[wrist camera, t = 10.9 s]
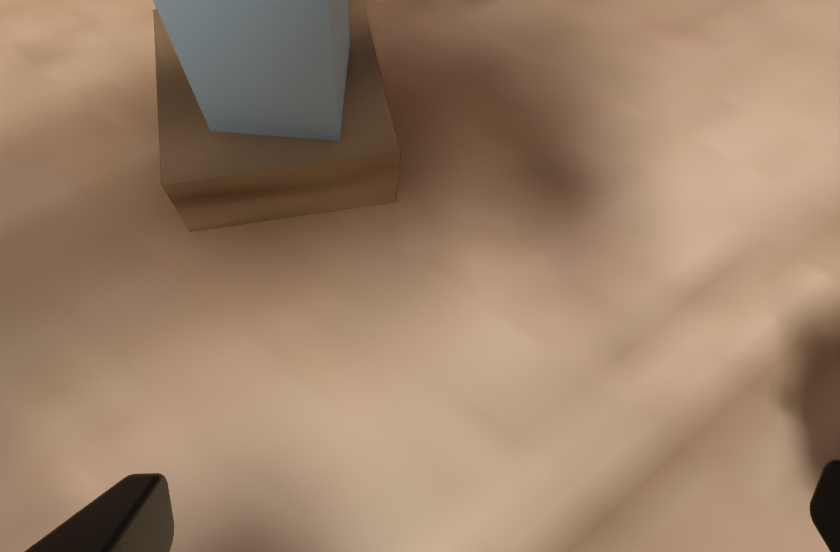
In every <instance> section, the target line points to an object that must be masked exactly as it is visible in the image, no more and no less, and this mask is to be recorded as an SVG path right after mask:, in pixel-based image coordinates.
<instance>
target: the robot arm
mask: <svg viewBox="0 0 840 552" xmlns="http://www.w3.org/2000/svg"><path fill="white" fill-rule="evenodd" d="M810 515H811V518H812V521H813V523H814V525H815V527H816V528H817V530H818V532H819V533H820V535H821V537H822V538H823V540H824V542H825V543H826V545H827V547H828V548H829V550H830V552H840V459H833V460H830V461H829V462H827V463H826V464H825V466H824V468H823V470H822V473H821V475H820V478H819V481H818V483H817V486H816V488H815V491H814V494H813V496H812V499H811V502H810ZM173 535H174V520H173V514H172V508H171V501H170V495H169V489H168V483H167V480H166V478H165V476H163V475H162V474H159V473H151V474H132V475H129V476H127V477H125V478H124V479H122V480H121V481H119V482H118V483H117V484H115V485H114V486H113V487H111V488H110V489H109V490H107V491H106V492H105V493H103V494H102V495H100V496H99V497H98V498H96V499H95V500H94V501H92V502H91V503H90V504H88V505H87V506H86V507H84V508H83V509H82V510H80V511H79V512H77V513H76V514H75V515H73V516H72V517H71V518H69V519H68V520H67V521H65V522H64V523H63V524H61V525H60V526H59V527H57V528H56V529H54V530H53V531H52V532H50V533H49V534H48V535H46V536H45V537H44V538H42V539H41V540H40V541H38V542H37V543H36V544H34V545H33V546H31V547H30V548H29V549H27V550H26V551H25V552H170V549H171V545H172V541H173Z"/></svg>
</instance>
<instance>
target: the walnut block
mask: <svg viewBox="0 0 840 552" xmlns="http://www.w3.org/2000/svg"><path fill="white" fill-rule="evenodd" d="M153 11H154V33H155V55H156V77H157V99H158V120H159V142H160V164H161V185H162V187H163V188H164V190H165V191H166V193H167V195H168V196H169V198H170V200H171V201H172V203H173V204H174V206H175V208H176V209H177V211H178V213H179V214H180V216H181V217H182V219H183V221H184V222H185V224H186V226H187V227H188V229H189V230H190V232H192V231H199V230H205V229H212V228H219V227H226V226H233V225H240V224H247V223H253V222H260V221H267V220H274V219H281V218H288V217H295V216H301V215H308V214H315V213H322V212H329V211H336V210H343V209H349V208H356V207H363V206H370V205H377V204H384V203H391V202H396V198H397V188H398V177H399V166H400V155H401V153H400V149H399V145H398V141H397V137H396V133H395V129H394V125H393V121H392V117H391V113H390V109H389V105H388V101H387V97H386V93H385V89H384V85H383V81H382V77H381V73H380V69H379V65H378V61H377V57H376V53H375V49H374V45H373V41H372V37H371V33H370V29H369V25H368V21H367V17H366V13H365V9H364V5H363V1H362V0H348V14H349V36H350V48H349V57H348V67H347V76H346V86H345V95H344V105H343V114H342V124H341V133H340V141H333V140H319V139H306V138H293V137H280V136H267V135H254V134H241V133H228V132H215V131H210V129H209V127H208V125H207V122H206V120H205V118H204V115H203V113H202V111H201V109H200V106H199V104H198V102H197V100H196V97H195V95H194V93H193V90H192V88H191V86H190V84H189V81H188V79H187V77H186V74H185V72H184V70H183V68H182V65H181V63H180V61H179V59H178V56H177V54H176V52H175V49H174V47H173V45H172V43H171V40H170V38H169V36H168V33H167V31H166V29H165V27H164V24H163V22H162V20H161V18H160V15H159V13H158V11H157V9H155V10H153Z"/></svg>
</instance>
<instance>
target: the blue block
mask: <svg viewBox="0 0 840 552" xmlns="http://www.w3.org/2000/svg"><path fill="white" fill-rule="evenodd" d="M153 2H154V4H155V6H156V8H157V11H158V13H159V15H160V18H161V20H162V22H163V24H164V27H165V29H166V31H167V33H168V36H169V38H170V40H171V43H172V45H173V47H174V49H175V52H176V54H177V56H178V59H179V61H180V63H181V65H182V68H183V70H184V72H185V74H186V77H187V79H188V81H189V84H190V86H191V88H192V90H193V93H194V95H195V97H196V100H197V102H198V104H199V106H200V109H201V111H202V113H203V115H204V118H205V120H206V122H207V125H208V127H209V129H210V131H215V132H228V133H241V134H254V135H267V136H280V137H293V138H306V139H319V140H333V141H340V133H341V124H342V114H343V105H344V95H345V86H346V76H347V67H348V57H349V48H350V36H349V14H348V0H153Z"/></svg>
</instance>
